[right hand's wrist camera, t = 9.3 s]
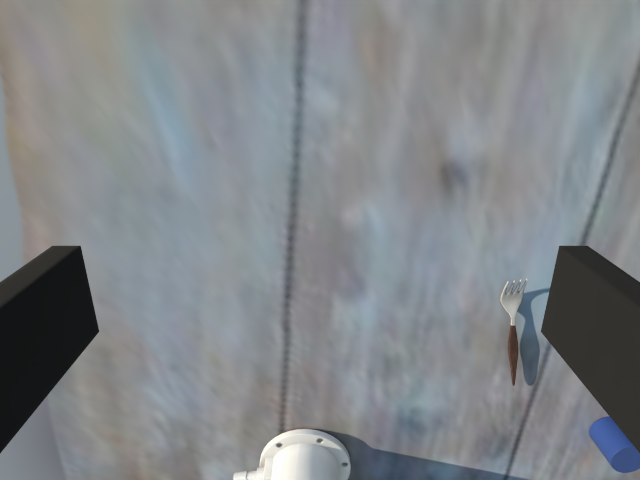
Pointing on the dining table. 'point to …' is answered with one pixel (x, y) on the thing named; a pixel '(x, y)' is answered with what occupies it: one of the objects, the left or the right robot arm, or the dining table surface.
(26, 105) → the dining table surface
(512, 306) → the fork
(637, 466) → the can
